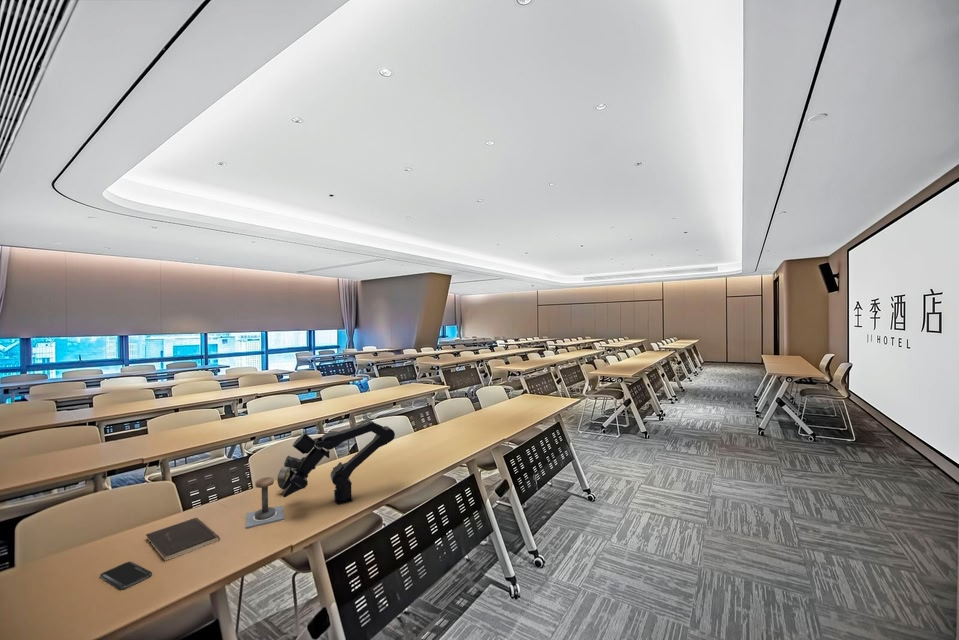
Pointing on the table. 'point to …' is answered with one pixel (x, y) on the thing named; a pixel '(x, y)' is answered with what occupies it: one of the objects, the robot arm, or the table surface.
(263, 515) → the stool
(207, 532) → the hardcover book
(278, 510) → the mat
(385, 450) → the table surface
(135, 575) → the phone
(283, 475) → the alarm clock
